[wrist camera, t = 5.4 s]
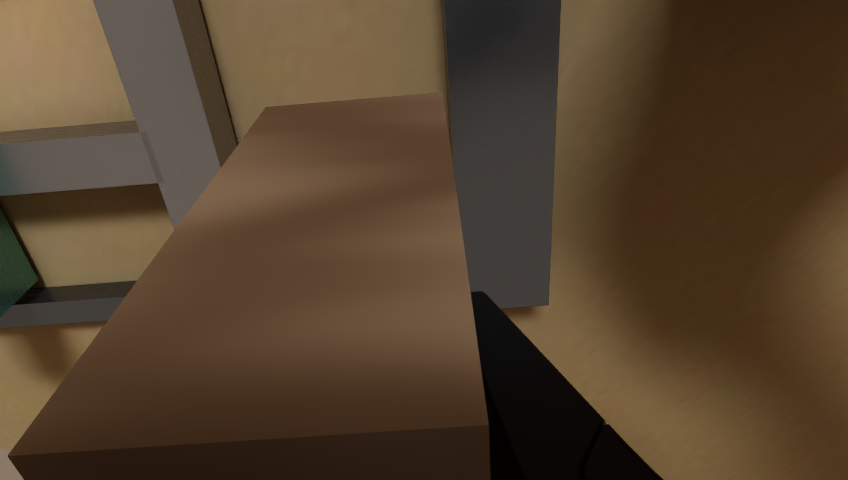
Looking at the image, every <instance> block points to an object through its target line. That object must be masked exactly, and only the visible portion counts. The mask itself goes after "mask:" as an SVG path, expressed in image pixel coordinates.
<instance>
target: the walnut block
mask: <svg viewBox="0 0 848 480" xmlns="http://www.w3.org/2000/svg"><path fill="white" fill-rule="evenodd" d="M8 457H9V459H10V460H11V462H12V463H13V465H14V466H15V467H16V469H17V470H18V472H19V473H20V475H21V476H22V477H23V479H24V480H491V477H490V446H489V422H488V415H487V408H486V401H485V393H484V386H483V379H482V372H481V365H480V357H479V350H478V343H477V336H476V328H475V321H474V314H473V307H472V299H471V292H470V285H469V278H468V270H467V263H466V256H465V249H464V241H463V234H462V227H461V220H460V213H459V205H458V198H457V191H456V184H455V176H454V169H453V162H452V155H451V147H450V140H449V133H448V126H447V118H446V111H445V104H444V97H443V92H441V93H429V94H417V95H405V96H393V97H381V98H369V99H358V100H346V101H334V102H322V103H310V104H298V105H286V106H274V107H266V108H265V109H264V111H263V112H262V113H261V115H260V116H259V117H258V119H257V120H256V121H255V123H254V124H253V125H252V127H251V128H250V129H249V131H248V132H247V134H246V135H245V136H244V138H243V139H242V140H241V142H240V143H239V144H238V146H237V147H236V148H235V150H234V151H233V152H232V154H231V155H230V156H229V158H228V159H227V160H226V162H225V163H224V165H223V166H222V167H221V169H220V170H219V171H218V173H217V174H216V175H215V177H214V178H213V179H212V181H211V182H210V183H209V185H208V186H207V187H206V189H205V190H204V192H203V193H202V194H201V196H200V197H199V198H198V200H197V201H196V202H195V204H194V205H193V206H192V208H191V209H190V210H189V212H188V213H187V214H186V216H185V217H184V218H183V220H182V221H181V223H180V224H179V225H178V227H177V228H176V229H175V231H174V232H173V233H172V235H171V236H170V237H169V239H168V240H167V241H166V243H165V244H164V245H163V247H162V248H161V250H160V251H159V252H158V254H157V255H156V256H155V258H154V259H153V260H152V262H151V263H150V264H149V266H148V267H147V268H146V270H145V271H144V272H143V274H142V275H141V277H140V278H139V279H138V281H137V282H136V283H135V285H134V286H133V287H132V289H131V290H130V291H129V293H128V294H127V295H126V297H125V298H124V299H123V301H122V302H121V303H120V305H119V306H118V308H117V309H116V310H115V312H114V313H113V314H112V316H111V317H110V318H109V320H108V321H107V322H106V324H105V325H104V326H103V328H102V329H101V330H100V332H99V333H98V335H97V336H96V337H95V339H94V340H93V341H92V343H91V344H90V345H89V347H88V348H87V349H86V351H85V352H84V353H83V355H82V356H81V357H80V359H79V360H78V361H77V363H76V364H75V366H74V367H73V368H72V370H71V371H70V372H69V374H68V375H67V376H66V378H65V379H64V380H63V382H62V383H61V384H60V386H59V387H58V388H57V390H56V391H55V393H54V394H53V395H52V397H51V398H50V399H49V401H48V402H47V403H46V405H45V406H44V407H43V409H42V410H41V411H40V413H39V414H38V415H37V417H36V418H35V419H34V421H33V422H32V424H31V425H30V426H29V428H28V429H27V430H26V432H25V433H24V434H23V436H22V437H21V438H20V440H19V441H18V442H17V444H16V445H15V446H14V448H13V449H12V451H11V452H10V453H9V455H8Z"/></svg>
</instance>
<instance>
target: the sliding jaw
mask: <svg viewBox="0 0 848 480" xmlns="http://www.w3.org/2000/svg"><path fill="white" fill-rule="evenodd" d="M93 2H94V4H95V7H96V10H97V13H98V16H99V19H100V21H101V24H102V27H103V30H104V33H105V35H106V38H107V41H108V44H109V47H110V50H111V52H112V55H113V58H114V61H115V64H116V66H117V69H118V72H119V75H120V78H121V81H122V83H123V86H124V89H125V92H126V95H127V97H128V100H129V103H130V106H131V109H132V112H133V114H134V117H135V120H136V121H124V122H112V123H100V124H88V125H77V126H65V127H53V128H41V129H29V130H17V131H6V132H0V196H6V195H18V194H30V193H43V192H55V191H67V190H80V189H92V188H104V187H117V186H129V185H141V184H153V183H158V185H159V188H160V190H161V193H162V196H163V199H164V202H165V204H166V207H167V210H168V213H169V216H170V219H171V221H172V224H173V227H174V230H175V229H176V228H177V227H178V225H179V224H180V223H181V221H182V220H183V218H184V217H185V216H186V214H187V213H188V212H189V210H190V209H191V208H192V206H193V205H194V204H195V202H196V201H197V200H198V198H199V197H200V196H201V194H202V193H203V192H204V190H205V189H206V187H207V186H208V185H209V183H210V182H211V181H212V179H213V178H214V177H215V175H216V174H217V173H218V171H219V170H220V169H221V167H222V166H223V165H224V163H225V162H226V160H227V159H228V158H229V156H230V155H231V154H232V152H233V151H234V150H235V148H236V147H237V143H236V140H235V136H234V132H233V128H232V125H231V121H230V117H229V113H228V110H227V106H226V102H225V98H224V95H223V91H222V87H221V83H220V79H219V76H218V72H217V68H216V64H215V61H214V57H213V53H212V49H211V46H210V42H209V38H208V34H207V31H206V27H205V23H204V19H203V16H202V12H201V8H200V4H199V1H198V0H93ZM37 281H38V278H37V277H36V275H35V273H34V271H33V269H32V267H31V265H30V263H29V261H28V259H27V258H26V256H25V254H24V252H23V250H22V248H21V246H20V244H19V242H18V240H17V239H16V237H15V235H14V233H13V231H12V229H11V227H10V225H9V223H8V221H7V219H6V218H5V216H4V214H3V212H2V210H1V208H0V317H1V316H2V315H3V314H4V313H5V312H6V311H7V310H8V309H9V308H10V307H11V306H12V305H13V304H14V303H15V302H16V301H17V300H18V299H19V298H20V297H21V296H22V295H23V294H24V293H25V292H26V291H27V290H28V289H29V288H30V287H31V286H33V285H34V284H35V283H36V282H37Z"/></svg>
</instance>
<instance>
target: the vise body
mask: <svg viewBox="0 0 848 480" xmlns="http://www.w3.org/2000/svg"><path fill="white" fill-rule="evenodd" d="M441 1H442V18H443V34H444V51H445V67H446V84H447V100H448V117H449V134H450V147H451V155H452V162H453V169H454V176H455V184H456V191H457V198H458V205H459V213H460V220H461V227H462V234H463V241H464V249H465V256H466V263H467V270H468V278H469V285H470V292H475V291H483V292H485V293H486V294H487V295H488V296H489V297H490V298H491V299H492V301H493V302H494V303H495V304H496V305H497V306H498V307H499V308H500V309H502V308H516V307H529V306H543V305H549V283H550V258H551V233H552V209H553V184H554V159H555V135H556V110H557V86H558V61H559V36H560V12H561V0H441ZM136 282H137V281H128V282H115V283H102V284H88V285H75V286H62V287H49V288H36V289H28V290H27V291H26V292H25V293H24V294H23V295H22V296H21V297H20V298H19V299H18V300H17V301H16V302H15V303H14V304H13V305H12V306H11V307H10V308H9V309H8V310H7V311H6V312H5V313H4V314H3V315H2V316H1V317H0V328H13V327H27V326H40V325H54V324H67V323H81V322H94V321H108V320H109V318H110V317H111V316H112V314H113V313H114V312H115V310H116V309H117V308H118V306H119V305H120V303H121V302H122V301H123V299H124V298H125V297H126V295H127V294H128V293H129V291H130V290H131V289H132V287H133V286H134V285H135V283H136Z"/></svg>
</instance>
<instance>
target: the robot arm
mask: <svg viewBox="0 0 848 480" xmlns="http://www.w3.org/2000/svg"><path fill="white" fill-rule="evenodd" d="M471 299H472V307H473V314H474V321H475V328H476V336H477V343H478V350H479V357H480V365H481V372H482V379H483V386H484V393H485V401H486V408H487V415H488V422H489V446H490V477H491V480H663V479H662V478H661V477H660V476H659V475H658V474H657V473H656V472H655V471H654V470H653V469H652V468H651V467H650V466H649V465H648V464H647V463H646V462H645V461H644V460H643V459H642V458H641V457H640V456H639V455H638V454H637V453H636V452H635V451H634V450H633V449H632V448H631V447H630V446H629V445H628V444H627V443H626V442H625V441H624V440H623V439H622V438H621V437H620V436H619V435H618V434H617V433H616V431H615V430H614V429H613V428H612V427H611V426H610V425H608V424H606V422H605V420H604V419H603V418H602V417H601V416H600V415H599V414H598V412H597V411H596V410H595V409H594V408H593V407H592V406H591V405H590V404H589V403H588V402H587V401H586V400H585V399H584V398H583V396H582V395H581V394H580V393H579V392H578V391H577V390H576V389H575V388H574V387H573V386H572V385H571V384H570V383H569V382H568V380H567V379H566V378H565V377H564V376H563V375H562V374H561V373H560V372H559V371H558V370H557V369H556V368H555V367H554V366H553V364H552V363H551V362H550V361H549V360H548V359H547V358H546V357H545V356H544V355H543V354H542V353H541V352H540V351H539V350H538V348H537V347H536V346H535V345H534V344H533V343H532V342H531V341H530V340H529V339H528V338H527V337H526V336H525V335H524V334H523V332H522V331H521V330H520V329H519V328H518V327H517V326H516V325H515V324H514V323H513V322H512V321H511V320H510V319H509V318H508V317H507V315H506V314H505V313H504V312H503V311H502V310H501V309H500V308H499V307H498V306H497V305H496V304H495V303H494V302H493V301H492V299H491V298H490V297H489V296H488V295H487V294H486V293H485V292H483V291H475V292H471Z"/></svg>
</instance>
